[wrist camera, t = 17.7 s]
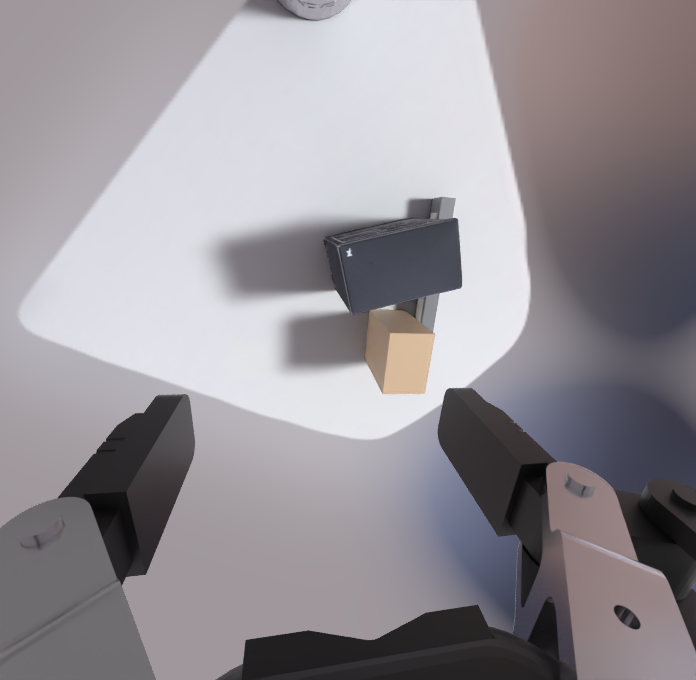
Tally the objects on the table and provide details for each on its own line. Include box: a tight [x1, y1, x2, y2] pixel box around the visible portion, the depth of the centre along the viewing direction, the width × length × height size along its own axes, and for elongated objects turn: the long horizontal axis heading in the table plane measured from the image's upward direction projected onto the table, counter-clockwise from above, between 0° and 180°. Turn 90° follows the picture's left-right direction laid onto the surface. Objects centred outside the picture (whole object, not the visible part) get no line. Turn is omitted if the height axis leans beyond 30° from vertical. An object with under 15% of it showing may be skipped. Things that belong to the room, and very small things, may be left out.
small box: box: [324, 218, 462, 315], centre depth 32 cm, size 11×6×10 cm, turn 102°
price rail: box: [415, 197, 456, 332], centre depth 38 cm, size 22×2×2 cm, turn 176°
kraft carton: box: [365, 309, 435, 394], centre depth 36 cm, size 5×6×9 cm
